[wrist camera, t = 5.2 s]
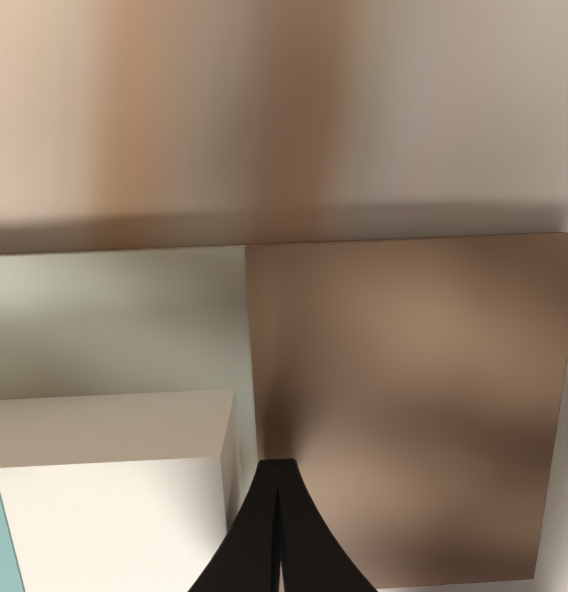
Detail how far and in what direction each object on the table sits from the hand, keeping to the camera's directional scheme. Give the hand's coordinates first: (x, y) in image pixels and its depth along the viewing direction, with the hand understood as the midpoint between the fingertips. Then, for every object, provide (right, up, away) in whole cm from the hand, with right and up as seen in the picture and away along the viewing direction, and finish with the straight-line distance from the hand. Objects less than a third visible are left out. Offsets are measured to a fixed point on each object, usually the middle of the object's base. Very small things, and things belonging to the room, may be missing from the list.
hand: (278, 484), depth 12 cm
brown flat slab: (-1, +1, +2) cm, 2 cm away
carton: (-6, 0, +1) cm, 6 cm away
